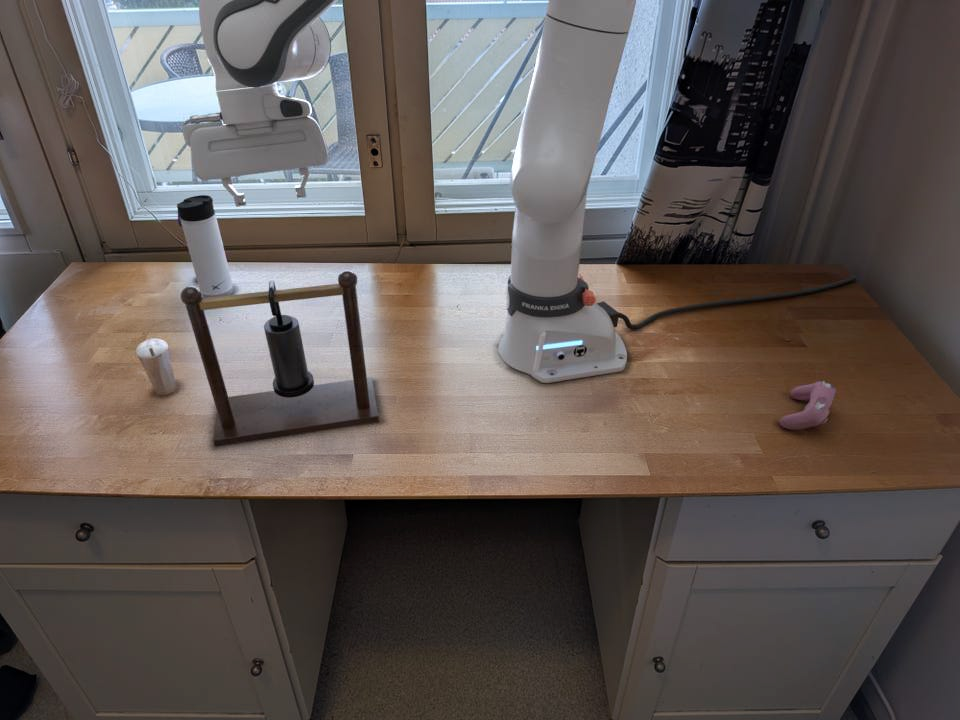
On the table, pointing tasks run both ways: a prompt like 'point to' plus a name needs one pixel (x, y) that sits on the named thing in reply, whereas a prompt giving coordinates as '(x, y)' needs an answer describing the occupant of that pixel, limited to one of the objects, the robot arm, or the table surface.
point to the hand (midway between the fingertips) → (271, 201)
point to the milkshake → (157, 365)
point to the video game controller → (810, 406)
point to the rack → (267, 409)
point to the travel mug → (205, 246)
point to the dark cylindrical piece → (286, 352)
